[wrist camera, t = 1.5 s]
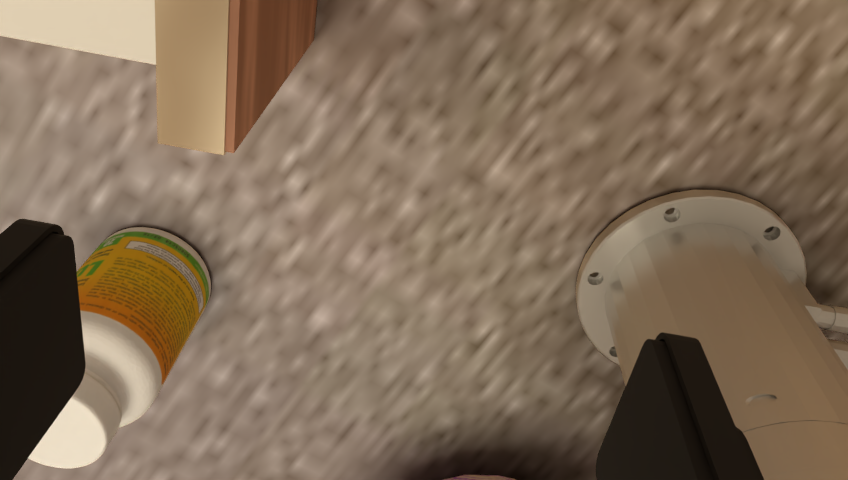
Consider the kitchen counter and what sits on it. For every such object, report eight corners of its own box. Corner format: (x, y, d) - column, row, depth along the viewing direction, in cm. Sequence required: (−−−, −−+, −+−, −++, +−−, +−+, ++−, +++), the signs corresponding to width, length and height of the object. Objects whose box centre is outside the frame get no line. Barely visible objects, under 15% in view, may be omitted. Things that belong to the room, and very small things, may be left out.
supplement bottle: (120, 202, 41) (-10, 344, 30) (232, 261, 43) (148, 416, 32) (81, 286, 44) (-48, 442, 33) (187, 338, 46) (97, 503, 35)
